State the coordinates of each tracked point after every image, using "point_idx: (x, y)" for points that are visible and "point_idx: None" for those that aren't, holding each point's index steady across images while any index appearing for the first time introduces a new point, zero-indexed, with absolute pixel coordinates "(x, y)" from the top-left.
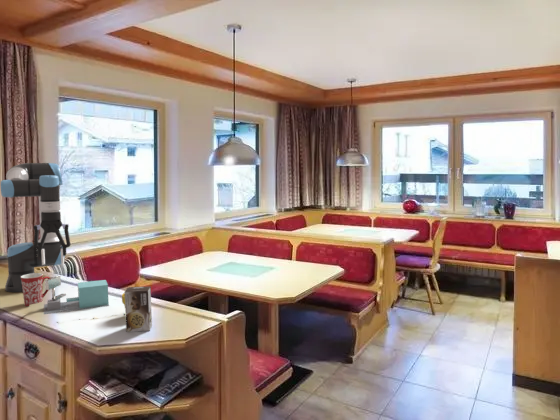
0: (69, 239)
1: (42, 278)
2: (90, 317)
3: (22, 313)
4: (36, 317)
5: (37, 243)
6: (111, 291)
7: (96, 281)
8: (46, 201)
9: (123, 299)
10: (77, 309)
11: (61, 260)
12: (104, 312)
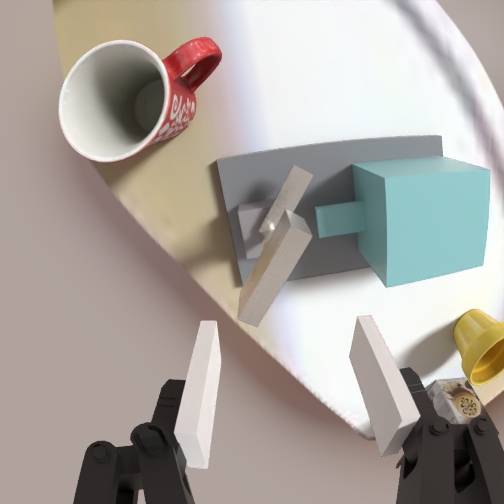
0: (500, 482)
1: (171, 74)
2: (380, 317)
3: (158, 222)
4: (220, 279)
5: (113, 494)
6: (442, 32)
7: (460, 186)
8: None
9: (466, 374)
10: (351, 265)
11: (357, 375)
12: (420, 283)
